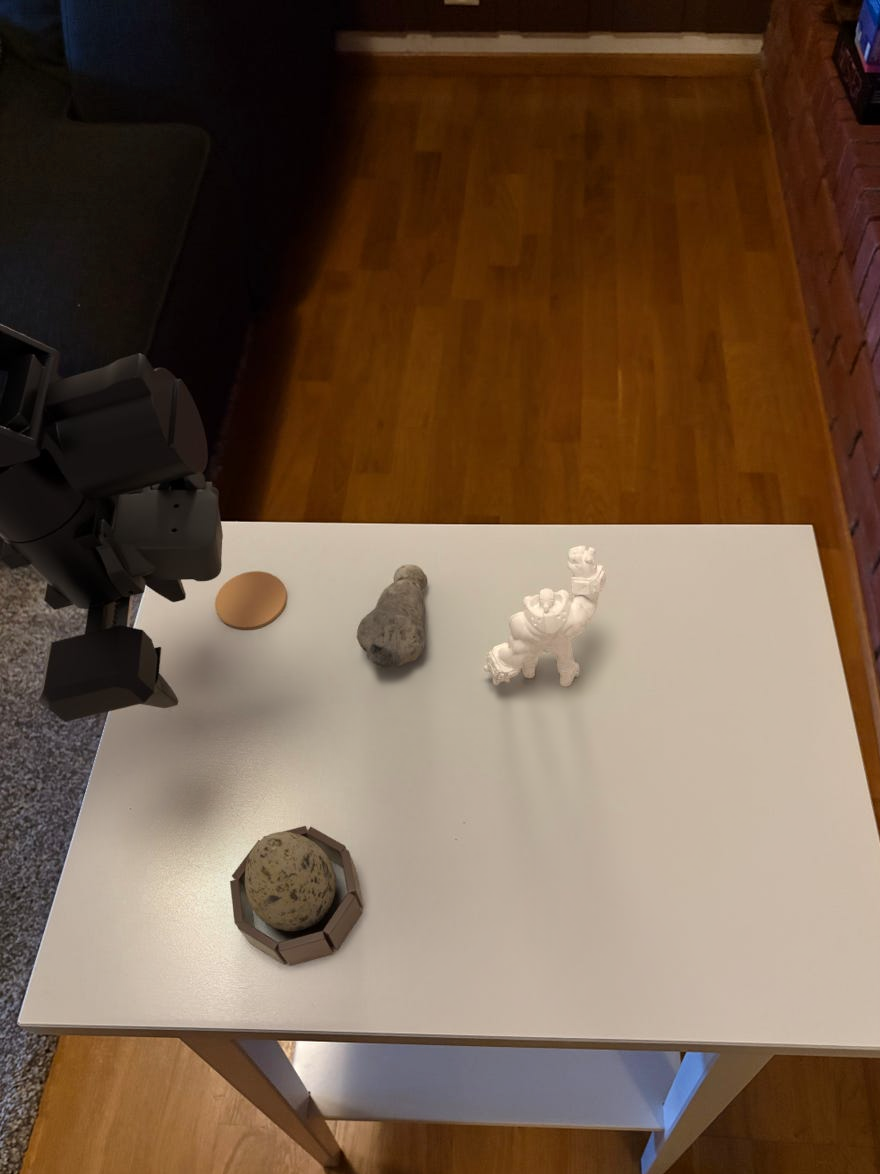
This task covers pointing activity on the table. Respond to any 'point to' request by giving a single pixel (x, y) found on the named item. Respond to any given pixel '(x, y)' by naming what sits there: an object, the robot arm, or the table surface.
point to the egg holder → (310, 943)
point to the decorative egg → (289, 881)
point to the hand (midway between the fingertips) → (175, 649)
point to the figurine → (550, 623)
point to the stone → (396, 620)
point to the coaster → (251, 600)
